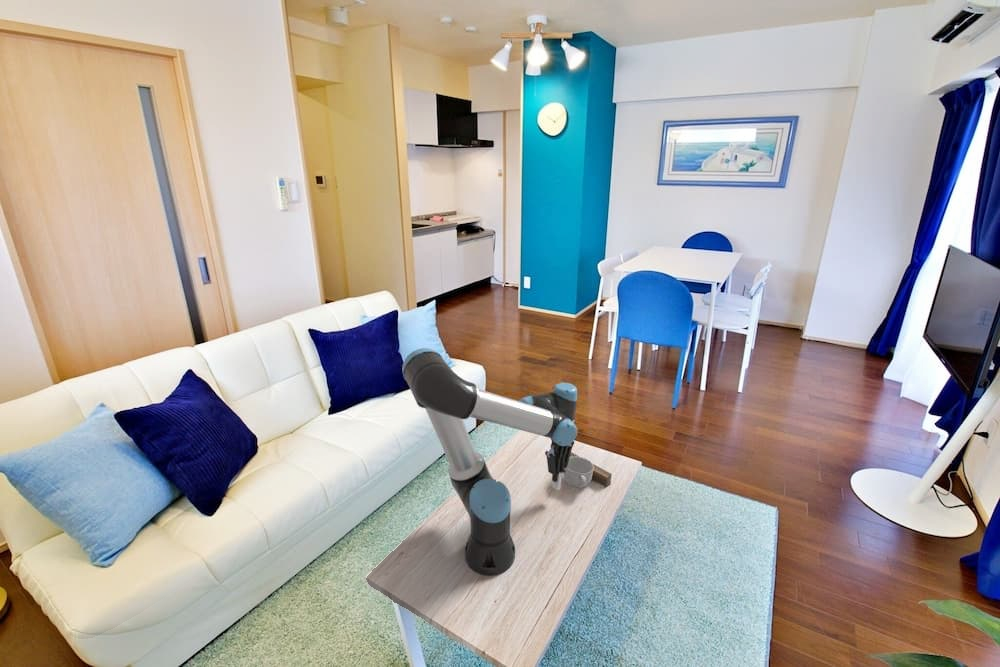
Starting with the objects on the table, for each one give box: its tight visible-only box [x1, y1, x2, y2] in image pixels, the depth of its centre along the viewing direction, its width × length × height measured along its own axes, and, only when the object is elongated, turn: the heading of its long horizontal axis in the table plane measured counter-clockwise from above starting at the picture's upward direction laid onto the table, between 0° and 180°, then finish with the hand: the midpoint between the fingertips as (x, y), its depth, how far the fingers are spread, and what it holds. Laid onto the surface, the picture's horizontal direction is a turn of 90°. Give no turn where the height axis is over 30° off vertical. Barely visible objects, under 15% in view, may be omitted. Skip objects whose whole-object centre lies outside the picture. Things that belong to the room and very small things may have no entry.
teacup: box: [562, 455, 595, 489], centre depth 171 cm, size 14×11×8 cm
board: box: [570, 451, 612, 489], centre depth 178 cm, size 3×22×4 cm, turn 44°
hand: (556, 487), depth 162 cm, fingers closed
